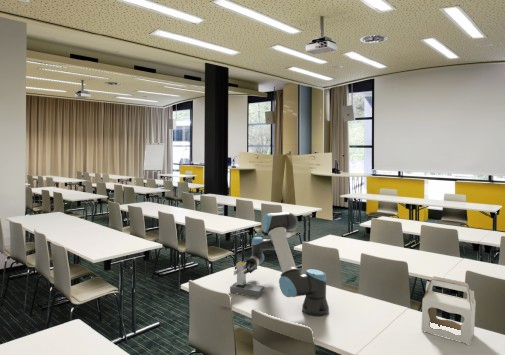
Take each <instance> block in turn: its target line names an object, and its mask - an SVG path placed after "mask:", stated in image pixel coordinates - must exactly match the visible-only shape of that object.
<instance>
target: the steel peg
mask: <svg viewBox="0 0 505 355" xmlns="http://www.w3.org/2000/svg"><path fill="white" fill-rule="evenodd" d="M236 266H237V274H236V282H237V284H238V285H244V284H247V274H245V275H243V276H241V272H242V271H243V270H245V269H246V261H240V260H239V261H238V262H237V263H236Z"/></svg>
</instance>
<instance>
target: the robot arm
mask: <svg viewBox="0 0 505 355" xmlns="http://www.w3.org/2000/svg"><path fill="white" fill-rule="evenodd" d="M261 225H262V226H261V227H262V231H263V232H264V233H267V235H268V237H270V238H268V239H267V238H266V239H264V238H263V237H261V236H255V237H252V240H251V256H250V257H249V258H248V259H246V260H245V262H246V269H245V270H243V271H242V272H241V276H243V275H245V274H246V275H247V274H252V273H254V272H255V271H256V270H258V266H259V265H260V264H263V262H264V260H265V255H264V253H263V252H264V251H270V250H275V253H276V256H277V261H278V263H279V266H280V270H281V274H280V277H279V280H278V284H279V289H280V291H281V294H282V295H283V296H285V297H286V298H295V297H296V298H297V297H303V296H304V300H303V304H302V306H301V307H302V308H301V310H302V311H303V313H304V314H306V315H308V316H314V317H322V316H326V315H327V314H329V312H330V307H329V304H328V300H327V282H328V281H327V275H326V273H325V272H323V271H321V270H320V269H311V268H309V269H308V268H307V269H306V270H305V273H302V272H301V270H300V269H299V268H298V267H297V265H296V264H295V259H294V257H293V254H292V250H291V248H290V245H289V242H288V239H287V237H288V236H289V235H290V234H292V233H293V232H295V231H296V229H297V228H298V225H299V221H298V219H297V216H296V215H294V213H292V212H288V211H285V212H284V211H283V212H269V213H265V214H264V215H263V217H262V224H261ZM233 276H237V265H235V266H234V270H233Z"/></svg>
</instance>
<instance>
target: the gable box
mask: <svg viewBox="0 0 505 355" xmlns="http://www.w3.org/2000/svg"><path fill="white" fill-rule="evenodd" d="M434 286H435V287H440V288H444V289H450V290H455V291H458V292H459V291H460V292H463V293H466V295H467V296H466V298H462V297H458V296H453V295H449V294H446V293H441V292H436V291H433V287H434ZM476 304H477V301H476V299H475V290H471V288H470V287H469V283H468V282H464V281H460V280H459V281H458V280H453V279H449V278H444V277H440V276H432V278H431V281H428V280H426V284H425V292H424V295H423V297H422V304H421V306H422V307H421V308H422V309H421V330H422V331H425V332H428V333H427V334H429V333H432V334H436V335H439V336H443V337H447V338H450V339H453V340H457V341H460V342H463V343H467V344H470V345H471V343H472V341H473V339H474V336H473V335H475V324H476V323H475V322H476V307H477V306H476ZM437 309H439V310H441V311H444V312H447V313H449V314H457V315H460V316H462V317H463V318H464V320H463V322H462V324H460V323H457V322H456V321H453V320H451V319H440V318H438V317H437V316H436V315H437V311H438V310H437ZM430 322H431V323H435V324H438V326H439V327H440V325H442V326H446V327H450V328H454V329H457V330H461V335H455V334H453V333H451V332H449V331H446V330H442V329H433V328H431V327H430ZM421 330H420V331H421ZM422 331H421V332H422ZM425 332H424V333H425ZM432 334H431V335H432ZM436 335H435V336H436ZM439 336H438V337H439ZM443 337H442V338H443ZM453 340H452V341H453ZM471 340H472V341H471ZM460 342H459V343H460ZM470 342H471V343H470ZM463 343H462V344H463ZM467 344H466V345H467Z"/></svg>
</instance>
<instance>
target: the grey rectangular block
mask: <svg viewBox="0 0 505 355" xmlns="http://www.w3.org/2000/svg"><path fill="white" fill-rule="evenodd" d="M230 292H232V293H231V294H235V293H238V294H237V295H240V294H243V295H242V296H246V295H247V296H248V297H251V298H252V297H253V298H260V297H261V296H262V295H263V294H264V293H265V286H263V285H257V284H252V283H251V284H250V283H245V284H244V285H238V284H237V281H236V282H234V283H233V284H232V285H231V286H229V293H230Z"/></svg>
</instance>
